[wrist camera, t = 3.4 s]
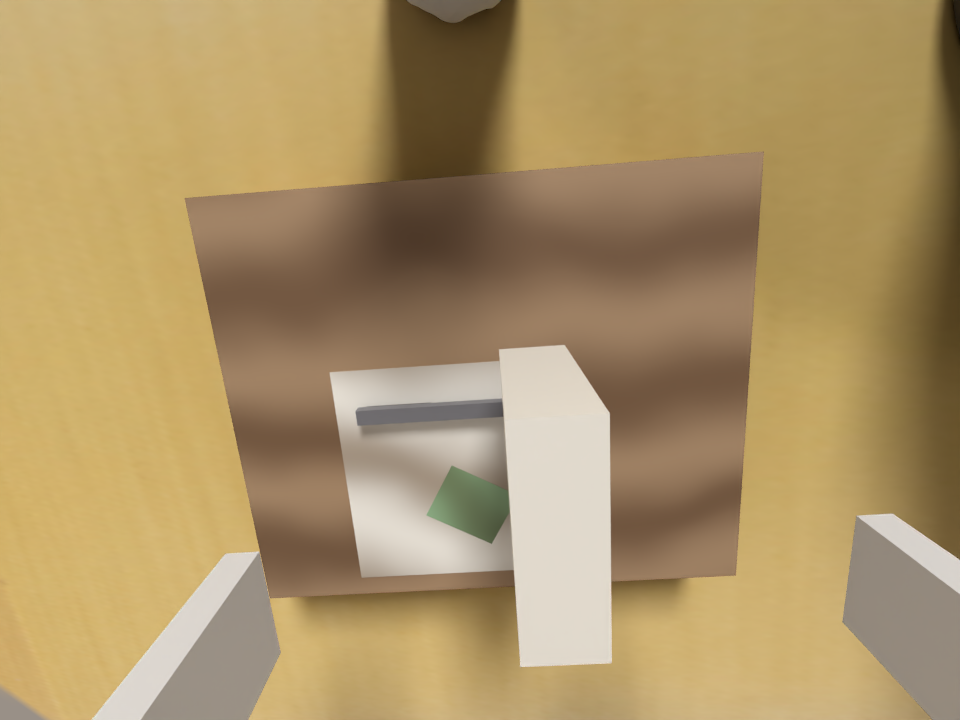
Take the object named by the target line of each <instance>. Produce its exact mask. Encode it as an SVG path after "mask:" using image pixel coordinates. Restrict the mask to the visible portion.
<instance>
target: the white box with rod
mask: <svg viewBox="0 0 960 720" xmlns="http://www.w3.org/2000/svg"><path fill="white" fill-rule="evenodd" d="M499 358H500V373H501V388H502V398H500V399H484V400H468V401H453V402H437V403H421V404H405V405H389V406H374V407H358V408H357V410H356V411H355V412H356V419H357V426H363V425H379V424H396V423H412V422H428V421H444V420H460V419H476V418H493V417H503V420H504V434H505V449H506V464H507V480H508V495H509V510H510V525H511V539H512V553H513V568H514V582H515V596H516V610H517V625H518V639H519V653H520V667H533V666H556V665H580V664H603V663H612V631H611V506H610V413H609V411H608V410H607V408H606V407H605V405H604V404H603V402H602V401H601V399H600V398H599V396H598V395H597V393H596V392H595V390H594V389H593V387H592V386H591V384H590V383H589V381H588V380H587V378H586V377H585V375H584V374H583V372H582V371H581V369H580V367H579V366H578V364H577V363H576V361H575V360H574V358H573V357H572V355H571V354H570V352H569V351H568V349H567V348H566V346H565V345H556V346H541V347H526V348H511V349H499Z"/></svg>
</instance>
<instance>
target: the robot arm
mask: <svg viewBox="0 0 960 720" xmlns="http://www.w3.org/2000/svg"><path fill="white" fill-rule="evenodd" d="M954 10H955V18H956V23H957V29H958V32H959V36H960V0H954ZM843 623H844V624H845V625H846V626H847V627H848V628H849V630H850V631H851V632H852V633H853V634H854V635H855V636H856V637H857V638H858V639H859V640H860V641H861V643H862V644H863V645H864V646H865V647H866V648H867V649H868V650H869V651H870V652H871V653H872V654H873V656H874V657H875V658H876V659H877V660H878V661H879V662H880V663H881V664H882V665H883V666H884V667H885V669H886V670H887V671H888V672H889V673H890V674H891V675H892V676H893V677H894V678H895V679H896V680H897V682H898V683H899V684H900V685H901V686H902V687H903V688H904V689H905V690H906V691H907V692H908V693H909V695H910V696H911V697H912V698H913V699H914V700H915V701H916V702H917V703H918V704H919V705H920V706H921V708H922V709H923V710H924V711H925V712H926V713H927V714H928V715H929V716H930V717H931V718H932V719H933V720H960V560H959V559H958V558H956V557H955V556H953V555H952V554H951V553H949V552H948V551H946V550H945V549H943V548H942V547H940V546H939V545H937V544H936V543H934V542H933V541H932V540H930V539H929V538H927V537H926V536H924V535H923V534H921V533H920V532H918V531H917V530H916V529H914V528H913V527H911V526H910V525H908V524H907V523H905V522H904V521H902V520H901V519H900V518H898V517H897V516H895V515H894V514H878V515H861V516H856V523H855V530H854V538H853V546H852V553H851V561H850V568H849V576H848V584H847V591H846V599H845V607H844V614H843ZM280 653H281V652H280V647H279V642H278V638H277V633H276V628H275V624H274V619H273V614H272V609H271V605H270V600H269V595H268V591H267V586H266V581H265V577H264V572H263V567H262V562H261V558H260V553H259V552H246V553H229V554H225V555H224V556H223V557H222V559H221V560H220V561H219V562H218V564H217V565H216V566H215V567H214V569H213V570H212V571H211V572H210V574H209V575H208V576H207V577H206V579H205V580H204V581H203V582H202V583H201V585H200V586H199V587H198V588H197V590H196V591H195V592H194V593H193V595H192V596H191V597H190V598H189V600H188V601H187V602H186V603H185V605H184V606H183V607H182V608H181V610H180V611H179V612H178V613H177V614H176V616H175V617H174V618H173V619H172V621H171V622H170V623H169V624H168V626H167V627H166V628H165V629H164V631H163V632H162V633H161V634H160V636H159V637H158V638H157V639H156V641H155V642H154V643H153V644H152V645H151V647H150V648H149V649H148V650H147V652H146V653H145V654H144V655H143V657H142V658H141V659H140V660H139V662H138V663H137V664H136V665H135V667H134V668H133V669H132V670H131V672H130V673H129V674H128V675H127V676H126V678H125V679H124V680H123V681H122V683H121V684H120V685H119V686H118V688H117V689H116V690H115V691H114V693H113V694H112V695H111V696H110V698H109V699H108V700H107V701H106V703H105V704H104V705H103V706H102V707H101V709H100V710H99V711H98V712H97V714H96V715H95V716H94V717H93V719H92V720H248V719H249V717H250V715H251V713H252V711H253V709H254V707H255V705H256V703H257V700H258V698H259V696H260V694H261V692H262V690H263V688H264V686H265V684H266V682H267V680H268V678H269V676H270V674H271V672H272V670H273V667H274V665H275V663H276V661H277V659H278V657H279V655H280Z"/></svg>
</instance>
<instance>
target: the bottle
mask: <svg viewBox="0 0 960 720" xmlns="http://www.w3.org/2000/svg"><path fill="white" fill-rule="evenodd" d="M407 1H408V2H409V3H410V4H412V5H414V6H417V7H419V8H421V9H423V10H424V11H426V12H429V13H431V14H433V15H435V16H436V17H438V18H440V19H441V20H442V21H445V22H448V23H457V22H460V21H462V20H464V19H465V18H467V17H468V16H471V15H473V14H475V13H478V12H480V11H482V10H485V9H491V8H493V7H494V6H496V5H497V4H498V3H499V2H500V1H501V0H407Z"/></svg>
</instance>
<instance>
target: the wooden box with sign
mask: <svg viewBox="0 0 960 720" xmlns="http://www.w3.org/2000/svg"><path fill="white" fill-rule="evenodd" d="M763 156H764V152H753V153H741V154H728V155H716V156H703V157H691V158H679V159H666V160H654V161H641V162H629V163H616V164H604V165H592V166H579V167H567V168H554V169H542V170H529V171H517V172H505V173H492V174H480V175H467V176H455V177H442V178H430V179H418V180H405V181H393V182H380V183H368V184H355V185H343V186H331V187H318V188H306V189H293V190H281V191H268V192H256V193H244V194H231V195H219V196H206V197H194V198H185V202H186V207H187V211H188V216H189V221H190V225H191V230H192V235H193V239H194V244H195V249H196V254H197V258H198V263H199V268H200V272H201V277H202V282H203V286H204V291H205V296H206V300H207V305H208V310H209V314H210V319H211V324H212V329H213V333H214V338H215V343H216V347H217V352H218V357H219V361H220V366H221V371H222V375H223V380H224V385H225V389H226V394H227V399H228V404H229V408H230V413H231V418H232V422H233V427H234V432H235V436H236V441H237V446H238V450H239V455H240V460H241V465H242V469H243V474H244V479H245V483H246V488H247V493H248V497H249V502H250V507H251V511H252V516H253V521H254V525H255V530H256V535H257V540H258V544H259V549H260V554H261V558H262V563H263V568H264V572H265V577H266V582H267V586H268V591H269V596H270V598H285V597H305V596H326V595H346V594H367V593H387V592H408V591H428V590H448V589H469V588H489V587H510V586H515V582H514V568H513V553H512V539H511V525H510V510H509V495H508V480H507V464H506V449H505V434H504V420H503V417H493V418H476V419H460V420H444V421H428V422H412V423H396V424H379V425H363V426H357V419H356V412H355V411H356V410H357V408H358V407H374V406H389V405H405V404H421V403H437V402H453V401H468V400H484V399H500V398H502V388H501V373H500V358H499V349H511V348H526V347H541V346H556V345H565V346H566V348H567V349H568V351H569V352H570V354H571V355H572V357H573V358H574V360H575V361H576V363H577V364H578V366H579V367H580V369H581V371H582V372H583V374H584V375H585V377H586V378H587V380H588V381H589V383H590V384H591V386H592V387H593V389H594V390H595V392H596V393H597V395H598V396H599V398H600V399H601V401H602V402H603V404H604V405H605V407H606V408H607V410H608V411H609V413H610V506H611V582H612V581H632V580H653V579H673V578H694V577H714V576H734V575H736V564H737V549H738V534H739V519H740V504H741V489H742V474H743V458H744V443H745V428H746V413H747V398H748V383H749V368H750V352H751V337H752V322H753V307H754V292H755V277H756V262H757V246H758V231H759V216H760V201H761V186H762V171H763Z"/></svg>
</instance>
